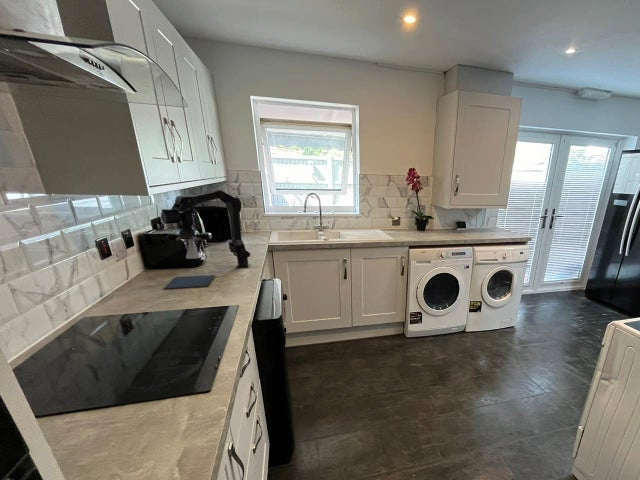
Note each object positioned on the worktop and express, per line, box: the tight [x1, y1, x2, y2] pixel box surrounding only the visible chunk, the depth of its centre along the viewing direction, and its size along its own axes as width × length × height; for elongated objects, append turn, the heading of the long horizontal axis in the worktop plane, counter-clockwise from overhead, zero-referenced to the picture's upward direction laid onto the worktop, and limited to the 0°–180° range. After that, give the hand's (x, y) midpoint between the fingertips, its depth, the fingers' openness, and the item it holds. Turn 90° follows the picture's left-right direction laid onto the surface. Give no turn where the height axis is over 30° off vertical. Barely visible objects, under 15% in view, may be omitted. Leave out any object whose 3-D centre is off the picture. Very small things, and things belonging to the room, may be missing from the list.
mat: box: [164, 274, 216, 290], centre depth 163 cm, size 18×18×1 cm
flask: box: [185, 238, 203, 260], centre depth 167 cm, size 7×7×10 cm
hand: (193, 252), depth 168 cm, fingers closed on flask, 5 cm apart
